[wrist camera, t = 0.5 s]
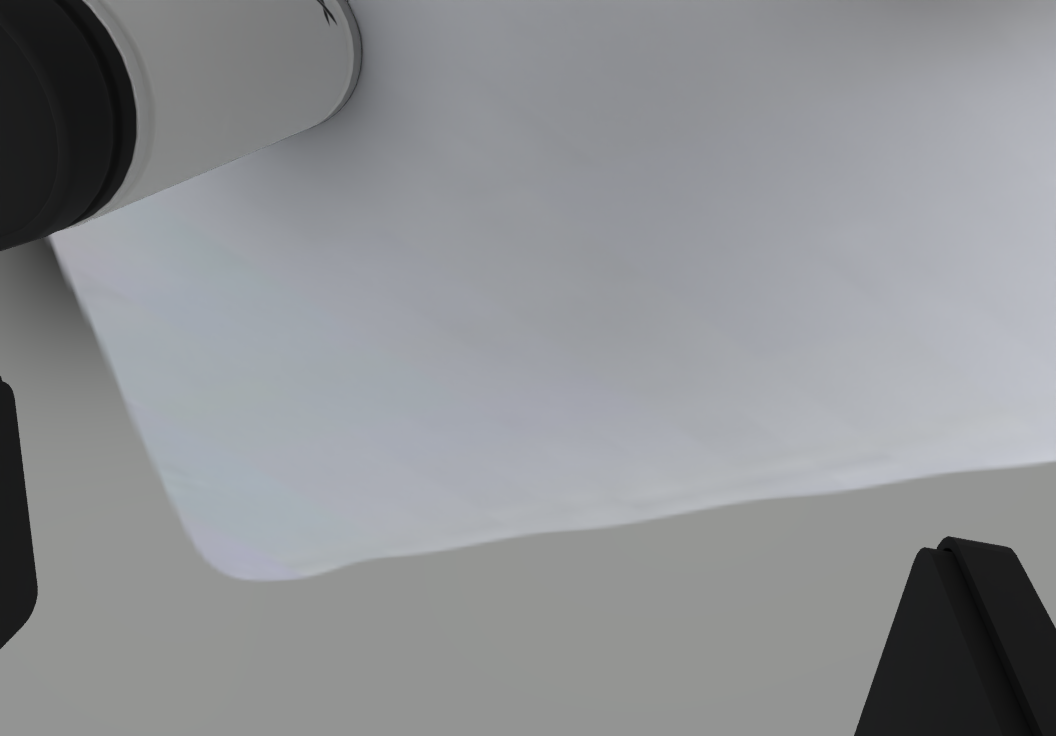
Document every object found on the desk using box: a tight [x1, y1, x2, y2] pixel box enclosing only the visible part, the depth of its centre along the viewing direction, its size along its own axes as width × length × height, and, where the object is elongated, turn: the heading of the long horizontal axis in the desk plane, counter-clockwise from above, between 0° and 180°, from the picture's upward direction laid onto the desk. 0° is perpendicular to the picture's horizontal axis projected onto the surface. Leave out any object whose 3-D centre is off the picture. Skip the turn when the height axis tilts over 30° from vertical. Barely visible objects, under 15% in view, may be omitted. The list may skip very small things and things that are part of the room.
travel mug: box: [0, 0, 362, 251], centre depth 28 cm, size 6×7×20 cm
